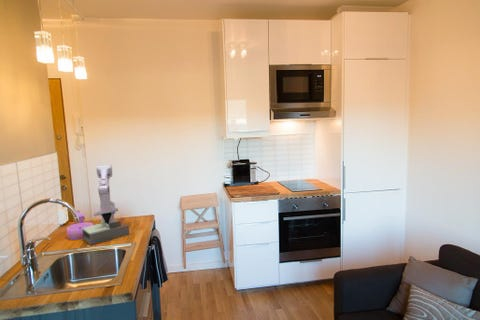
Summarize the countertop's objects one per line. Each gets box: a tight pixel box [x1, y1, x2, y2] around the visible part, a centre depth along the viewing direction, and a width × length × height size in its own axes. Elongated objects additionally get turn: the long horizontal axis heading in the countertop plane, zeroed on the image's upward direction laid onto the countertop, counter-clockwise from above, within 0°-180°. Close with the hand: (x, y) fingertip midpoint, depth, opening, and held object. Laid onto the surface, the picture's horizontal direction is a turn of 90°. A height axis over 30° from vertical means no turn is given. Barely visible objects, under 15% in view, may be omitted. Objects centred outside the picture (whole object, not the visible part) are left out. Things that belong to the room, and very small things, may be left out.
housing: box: [82, 220, 130, 246], centre depth 197 cm, size 14×24×6 cm, turn 133°
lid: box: [82, 220, 110, 235], centre depth 193 cm, size 14×12×3 cm
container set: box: [66, 210, 94, 241], centre depth 206 cm, size 25×15×13 cm, turn 29°
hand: (107, 224), depth 197 cm, fingers closed
